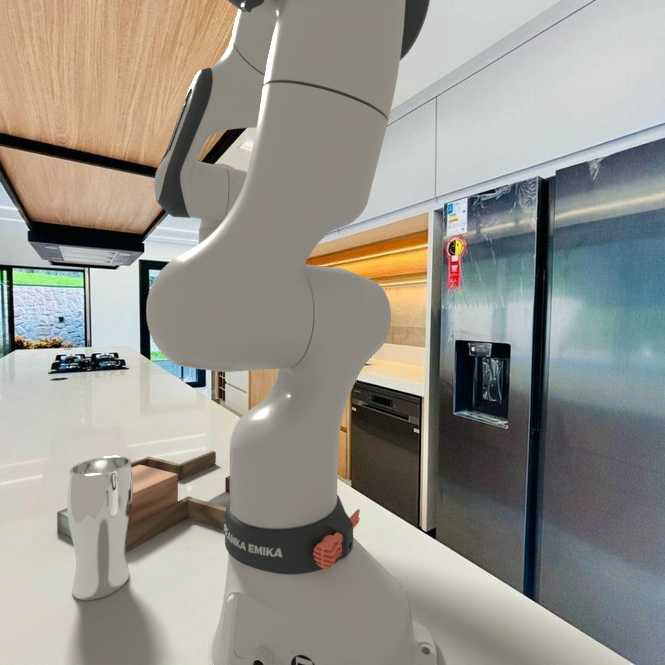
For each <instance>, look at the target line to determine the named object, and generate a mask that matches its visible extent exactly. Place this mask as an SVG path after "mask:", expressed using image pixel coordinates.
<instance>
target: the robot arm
mask: <svg viewBox="0 0 665 665" xmlns="http://www.w3.org/2000/svg"><path fill="white" fill-rule="evenodd" d="M227 1H228V2H229V3H231V5H233V6H234V7H235V8H237V9H238V10H237V14H236V16H235V21H234V25H233V29H232V34H231V38H230V42H229V45H228V47H227V49H226V50H225V52H224V53H223V54H222V56H221V57H220V58H219V59H218V61H216V62H215V63H214V64H213V65H212V66H209V67H206V68H202V69H199V70H198V72H197V73H196V75H195V77H194V78H193V80H192V82H191V84H190V86H189V89H188V91H187V94H186V96H185V99H184V101H183V103H182V107H181V108H180V109H181V110H180V112H179V114H178V117H177V120H176V123H175V125H174V129H173V132H172V134H171V136H170V140H169V143H168V146H167V148H166V150H165V153H164V155H163V157H162V158H161V160H160V163H159V165H158V167H157V169H156V172H155V176H154V185H153V187H154V194H155V199H156V202H157V203H158V205H159V206H160V207H161V208H162V209H163V210H164V211H165V212H166V213H167V214H169V215H170V216H171V217H173V218H183V219H184V218H185V219H186V218H188V219H191V218H193V219H195V218H196V219H200V226H199V229H198V244H197V245H196V246H194V247H192V248H191V249H190V250H188V251H186V252H184V253H182V254H180V255H179V256H176V257H175V258H173V259H171V261H169V262H168V263H167V264H166V265H165V266H164V267H163V268H161V270H160V272H158V274H157V275H156V277H155V279H154V280H153V282H152V285H151V287H150V289H149V291H148V295H147V299H146V307H145V308H146V310H145V311H146V314H145V315H146V323H147V324H146V325H147V327H148V331H149V334H150V336H151V338H152V340H153V343H154V344H155V346H156V347H157V349H158V350H159V352H160V353H161V354H162V355H163V356H164V357H165V358H166V359H167V360H168V361H169V362H171V364H172V365H174V366H177V367H184V368H191V369H196V370H197V369H199V370H204V371H205V370H206V371H215V372H220V373H221V372H222V373H230V372H231V373H234V372H245V371H246V372H247V371H261V370H263V371H264V370H275V369H277V370H278V373H277V377H276V380H275V381H274V382H275V383H274V384H273V387H272V388H271V389H270V391H269V393H268V394H267V395H266V396H265V397H264V399H262V400H261V401H260V402H259V403H257V404H256V405H255V406H252V407H251V408H250V409H248V410H247V411H246V412H245V413H244V414H243V415H242V416H241V417H240V418H239V419H238V421H237V422H236V424H235V425H234V428H233V430H232V433H231V436H230V439H229V476H230V501H229V502H228V504H227V506H226V514H225V524H224V529H223V530H224V531H223V532H224V546H225V550H227V552H228V557H227V569H226V579H225V586H224V587H225V588H224V595H223V601H222V606H221V611H220V616H219V620H218V623H217V624H218V625H217V627H216V631H215V633H214V634H215V635H214V637H213V642H212V648H211V650H212V652H211V655H212V656H211V657H212V658H211V659H212V664H213V665H438V664H439V662H438V654H437V649H436V644H435V640H434V638H433V636H432V633H431V632H430V629H428V627H426V626H425V625H423V624H422V623H420V622H418V621H416V620H414V619H413V617H412V612H411V607H410V605H411V604H410V602H409V601H410V600H409V598H408V595H407V592H406V589H405V587H404V586H403V585H402V583H401V581H399V580H398V578H396V576H394V575H393V574H392V573H391V572H390V571H389V570H387V568H385V567H384V566H383V565H382V564H381V563H380V562H379V561H378V560H377V559H376V558H375V557H374V556H373V555H372V554H371V553H370V552H369V551H368V550H367V549H366V548H365V547H364V546H363V545H362V544H361V543H360V542H359V541H358V540H357V539H356V538H355V537H354V529H355V528H356V526H357V525H358V524H359V522H360V519H361V518H360V516H359V515H360V513H361V510H360V509H359V508H358V509H356V510H355V511H354V513H352V514H351V515H350V517H349V515H348V514H347V512H346V510H345V507H344V505H343V502H342V501H341V498H340V496H339V495H338V477H339V476H338V473H339V472H338V471H339V470H338V469H339V448H340V447H339V446H340V437H341V436H340V434H341V427H342V421H343V418H344V414H345V413H344V412H345V410H346V406H347V403H348V401H349V398H350V395H351V393H352V390H353V389H354V385H355V383H356V381H357V380H358V377H359V376H360V374H361V372H362V371H363V369H364V367H365V365H366V364H367V363H368V362H369V360H370V359H371V358H372V357H374V355H375V354H377V352H378V351H379V350H380V349H381V348H382V347H383V346H384V344H385V342H386V341H387V338H388V336H389V333H390V329H391V324H392V310H391V304H390V301H389V298H388V295H387V293H386V291H385V290H384V289H383V288H382V286H381V285H380V283H378V282H376V281H374V280H372V279H370V278H368V277H365V276H363V275H361V274H358V273H357V272H354V271H353V272H352V271H350V270H347V269H346V268H345V269H344V268H341V267H331V266H325V265H324V266H323V265H316V264H315V265H314V264H307V263H306V262H307V260H308V258H309V257H310V255H311V253H312V252H313V250H315V247H316V246H317V245H318V244H319V243H320V242H321V241H322V240H323V239H324V238H325V237H327V235H328V234H331V233H332V232H333V231H336V230H338V229H339V230H340V229H343V228H344V227H346V226H348V225H350V224H352V223H353V222H355V221H356V220H357V219H358V218H359V217H360V216H361V215H362V214H363V212H364V211H365V209H366V207H367V206H368V203H369V198H370V195H371V190H372V188H373V187H372V186H373V182H374V178H375V175H376V171H377V167H378V163H379V159H380V155H381V151H382V146H383V143H384V140H385V135H386V131H387V127H388V124H389V123H388V122H389V119H390V114H391V110H392V106H393V102H394V97H395V91H396V86H397V81H398V75H399V68H400V61H402V60H403V59H404V58H405V57H406V56H407V55H408V53H409V52H410V51H411V49H412V48H413V46H414V45H415V43H416V41H417V39H418V37H419V35H420V33H421V31H422V28H423V25H424V24H425V21H426V18H427V14H428V11H429V7H430V1H431V0H227ZM249 128H250V129H255V135H254V140H253V146H252V151H251V154H250V160H249V162H248V163H249V164H248V168H247V171H245V170H242V169H237V168H234V167H233V166H231V165H229V164H225V163H213V164H212V163H207V162H203V161H199V157H200V155H201V153H202V151H203V149H204V147H205V145H206V142H207V140H208V139H209V138H210V137H211V136H213V135H215V134H217V133H219V132H223V131H228V130H235V129H236V130H237V129H249Z"/></svg>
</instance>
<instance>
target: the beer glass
mask: <svg viewBox="0 0 665 665" xmlns="http://www.w3.org/2000/svg"><path fill="white" fill-rule="evenodd" d="M131 462H132V460H131V458H129V457H127V456H124V455H123V456H121V455H112V456H111V455H110V456H109V455H108V456H101V457H97V458H90V459H88V460H85V461H82V462H79V463H77V464H75V465H73V466H71V468H70V469H69V477H68V478H69V479H68V487H67V489H68V490H67V508H68V520H69V527H70V531H71V536H72V537H71V539H72V544H73V548H74V553H75V565H76V566H75V573H74V574H75V575H74V579H73V583H72V588H71V593H72V596H73V597H74V598H75V599H77V600H79V601H94V600H98V599H99V600H100V599H102V598H105V597H107V596H109V595H113V593H116V592H117V591H118V590H120V589H121V588H122V587H124V585H126V583H127V582H128V581H129V577H130V569H129V565H128V560H127V552H126V539H127V533H128V528H129V523H130V517H131V511H132V504H133V480H132V469H131Z"/></svg>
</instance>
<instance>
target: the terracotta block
mask: <svg viewBox="0 0 665 665" xmlns="http://www.w3.org/2000/svg"><path fill="white" fill-rule="evenodd" d="M131 469H132V480H133V504H132V511H131V517H130V523H129V526H130V525H132V524H134V523H136V522H138V521H140V520H142V519H144V518H146V517H148V516H150V515H152V514H154V513H156V512H158V511H160V510H162V509H164V508H166V507H168V506H170V505H172V504H174V503H176V502H178V501H179V481H178V474H175V473H171V472H167V471H163V470H159V469H155V468H151V467H147V466H143V465H137V466H134V467H132V468H131Z"/></svg>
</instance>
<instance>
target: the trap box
mask: <svg viewBox="0 0 665 665" xmlns="http://www.w3.org/2000/svg"><path fill="white" fill-rule="evenodd" d="M216 454H217V451H214V450H212V451H208V452H207V453H204V454H201V455H198V456H196V457H194V458H191V459H189V460H186V461H182V462H181V463H177V462H173V461H168V460H165V459H162V458H157V457H153V456H146V457H144V458H140V459H137V460H135V461H131V468H132V467H134V466H137V465H143V466H147V467H151V468H155V469H159V470H163V471H167V472H171V473H175V474H178V480H179V481H181V480H183V479H185V478H184V477H186V476H188V477H189V475H190V476H192V475H194V474H193V473H195V472H197V471H199V472H201V471H200V470H202V469H204V468H206V467H208V468H210V467H209V466H211V465H213V464H215V463H217V458H216V456H217V455H216ZM215 465H216V464H215ZM213 466H214V465H213ZM211 467H212V466H211ZM206 469H207V468H206ZM204 470H205V469H204ZM202 471H203V470H202ZM197 473H198V472H197ZM191 474H192V475H191ZM195 474H196V473H195ZM186 478H187V477H186ZM180 479H181V480H180ZM224 484H225V485H224V486H225V488H224V489H225V491H224V492H221V493H220V494H218V495H216V496H215V497H213V498H211V499H209V500H207V501H206V500H203V499H199V498H195V497H192V496H186V497H184V498H182V499H180V500H178V502H176V503H174V504H172V505H170V506H168V507H166V508H164V509H162V510H160V511H158V512H156V513H154V514H152V515H150V516H148V517H146V518H144V519H142V520H140V521H138V522H136V523H134V524H132V525H130V526H129V528H128V533H127V539H126V553H128V552H129V551H131V550H132V549H134V548H135V547H138V546H139V545H142V544H143V543H145V542H147V541H148V540H150V539H152V538H153V537H155V536H157V535H159V534H161V533H162V532H164V531H166V530H168V529H170V528H171V527H173V526H175V525H176V524H178V523H180V522H182V521H184V520H185V519H192V520H194V521H197V522H200V523H204V524H206V525H210V526H213V527H215V528H219V529H221V530H224V524H225V514H226V506H227V504H228V502H229V501H230V475H228V476H226V477H225V483H224ZM56 521H57V522H56V531H58V532H59V533H61V534H64V535H66V536H68V537H71V538H72V536H71V531H70V527H69V520H68V507H66V508H64V509H61V510H58V511H57V512H56Z"/></svg>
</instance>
